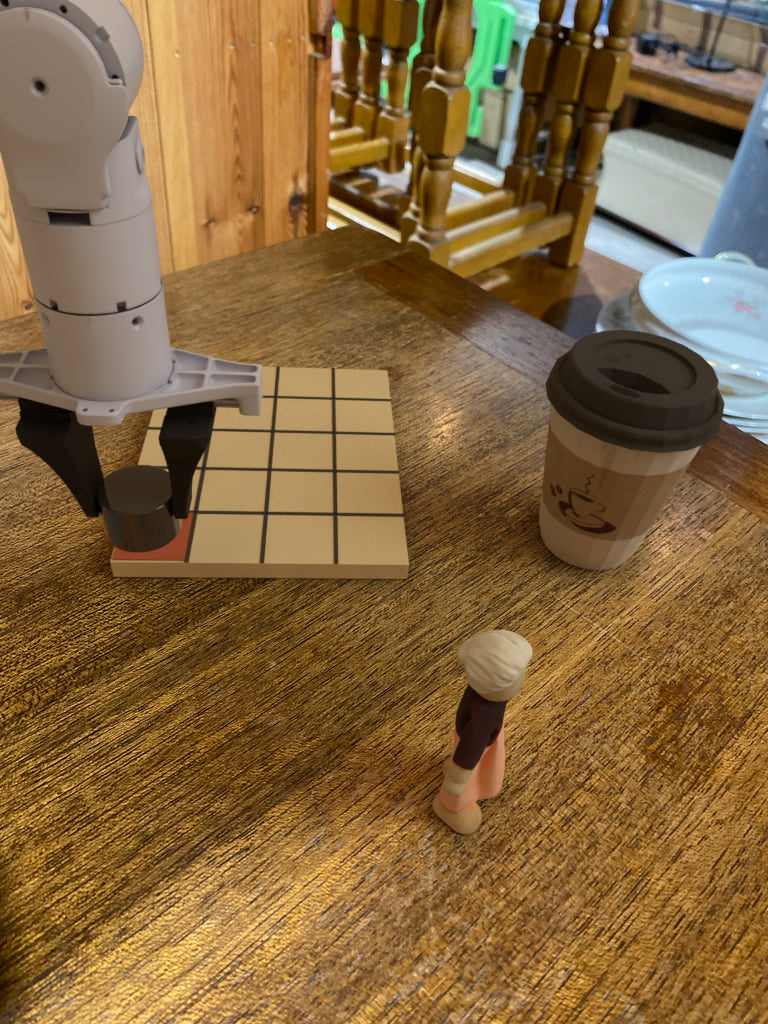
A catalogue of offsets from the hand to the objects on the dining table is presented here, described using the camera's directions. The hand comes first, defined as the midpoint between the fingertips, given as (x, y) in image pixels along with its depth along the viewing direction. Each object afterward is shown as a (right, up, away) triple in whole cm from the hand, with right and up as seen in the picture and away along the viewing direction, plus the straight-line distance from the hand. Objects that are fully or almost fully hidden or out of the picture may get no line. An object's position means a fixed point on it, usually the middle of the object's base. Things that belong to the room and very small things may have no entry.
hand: (139, 506), depth 45 cm
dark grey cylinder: (0, -1, +1) cm, 2 cm away
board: (+5, +3, +18) cm, 19 cm away
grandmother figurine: (+19, -16, -2) cm, 24 cm away
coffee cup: (+29, -2, +14) cm, 33 cm away
